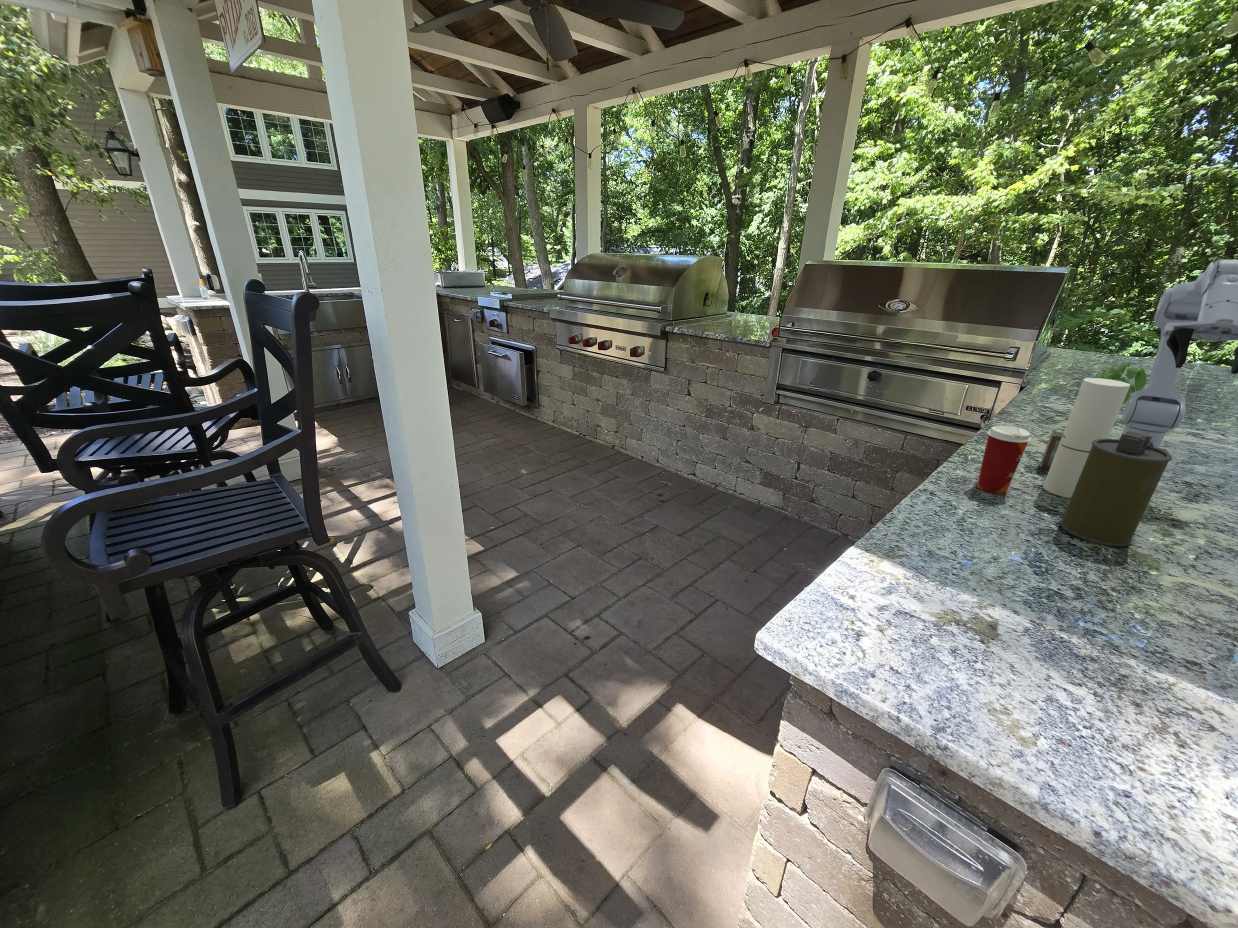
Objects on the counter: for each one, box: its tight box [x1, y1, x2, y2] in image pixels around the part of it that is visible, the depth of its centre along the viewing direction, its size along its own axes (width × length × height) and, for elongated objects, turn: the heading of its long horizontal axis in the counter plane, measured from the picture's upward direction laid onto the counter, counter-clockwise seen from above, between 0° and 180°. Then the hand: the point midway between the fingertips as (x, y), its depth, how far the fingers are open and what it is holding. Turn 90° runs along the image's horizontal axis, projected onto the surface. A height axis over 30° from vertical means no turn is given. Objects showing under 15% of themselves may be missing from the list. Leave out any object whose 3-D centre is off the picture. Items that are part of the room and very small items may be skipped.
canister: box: [1059, 431, 1173, 548], centre depth 92 cm, size 11×10×20 cm
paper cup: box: [976, 425, 1032, 495], centre depth 111 cm, size 8×8×14 cm
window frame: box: [1039, 430, 1169, 472], centre depth 117 cm, size 4×20×9 cm, turn 53°
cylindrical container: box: [1042, 377, 1131, 499], centre depth 107 cm, size 7×7×25 cm
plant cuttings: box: [1074, 361, 1148, 426], centre depth 152 cm, size 35×17×22 cm
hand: (1207, 368), depth 98 cm, fingers open, 7 cm apart
